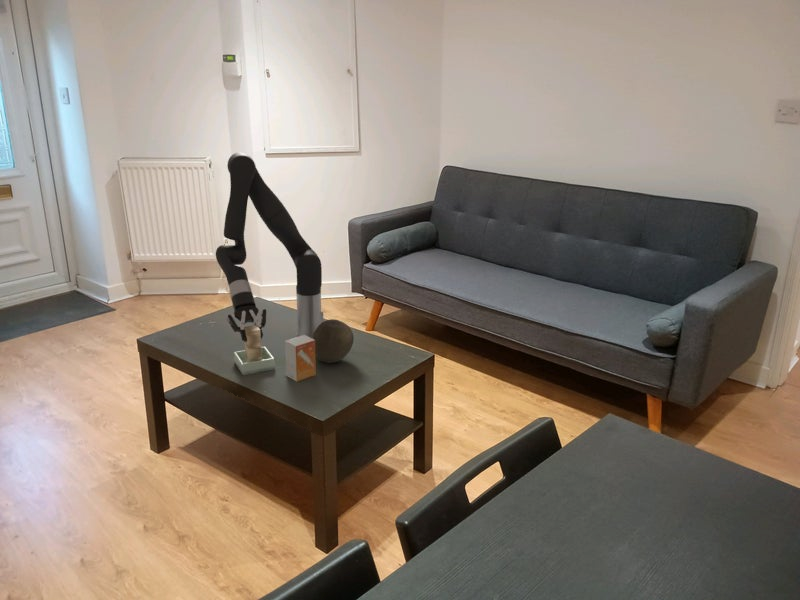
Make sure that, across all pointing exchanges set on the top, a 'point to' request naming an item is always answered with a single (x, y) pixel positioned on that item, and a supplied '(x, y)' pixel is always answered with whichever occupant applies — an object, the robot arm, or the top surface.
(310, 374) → the small box
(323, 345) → the brown leather ball
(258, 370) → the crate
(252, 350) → the birch block
